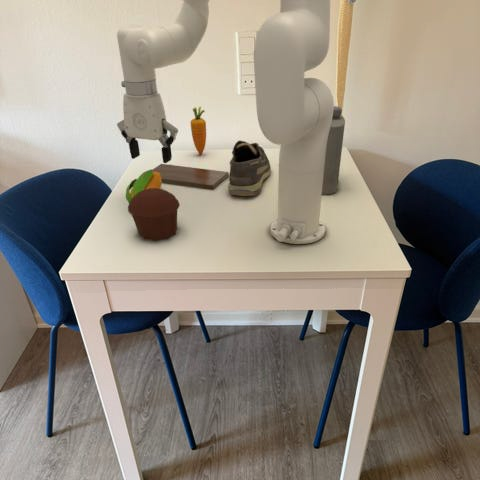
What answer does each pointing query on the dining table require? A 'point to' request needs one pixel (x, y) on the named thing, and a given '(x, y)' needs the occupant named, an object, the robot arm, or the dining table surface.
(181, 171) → the board
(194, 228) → the dining table surface
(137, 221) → the muffin
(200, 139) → the carrot
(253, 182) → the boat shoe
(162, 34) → the robot arm
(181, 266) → the dining table surface
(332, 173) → the flask
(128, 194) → the corn
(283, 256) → the dining table surface
